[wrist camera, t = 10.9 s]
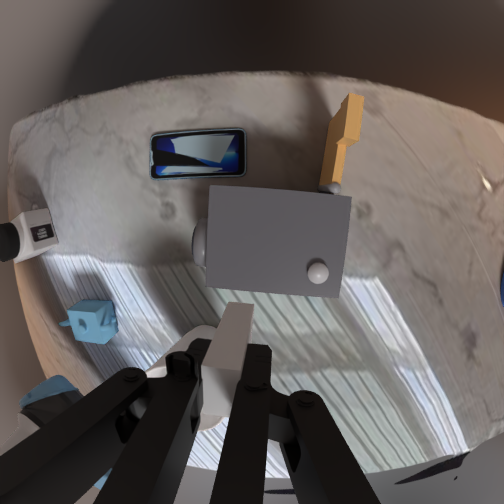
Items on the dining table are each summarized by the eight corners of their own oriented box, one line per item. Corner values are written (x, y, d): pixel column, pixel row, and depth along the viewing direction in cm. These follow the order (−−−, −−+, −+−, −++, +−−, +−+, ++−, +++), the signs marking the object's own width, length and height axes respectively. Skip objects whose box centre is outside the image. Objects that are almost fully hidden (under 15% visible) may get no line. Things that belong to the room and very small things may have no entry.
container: (48, 207, 44) (1, 214, 31) (59, 243, 46) (12, 259, 33) (29, 221, 45) (-16, 231, 33) (39, 255, 47) (-5, 271, 34)
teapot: (81, 324, 49) (60, 340, 42) (74, 297, 48) (51, 310, 40) (127, 329, 48) (108, 348, 40) (120, 299, 47) (98, 315, 39)
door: (326, 122, 37) (349, 92, 24) (337, 125, 37) (364, 96, 24) (315, 191, 40) (334, 191, 26) (326, 193, 40) (350, 195, 26)
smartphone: (246, 176, 40) (149, 180, 41) (246, 177, 41) (152, 180, 42) (246, 127, 38) (150, 134, 39) (246, 129, 39) (152, 135, 40)
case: (205, 263, 44) (184, 286, 33) (208, 185, 41) (187, 184, 31) (325, 274, 42) (339, 299, 32) (334, 195, 40) (353, 196, 29)
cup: (182, 301, 45) (142, 350, 30) (251, 325, 45) (238, 387, 30) (169, 355, 48) (134, 411, 32) (230, 378, 48) (213, 442, 32)
